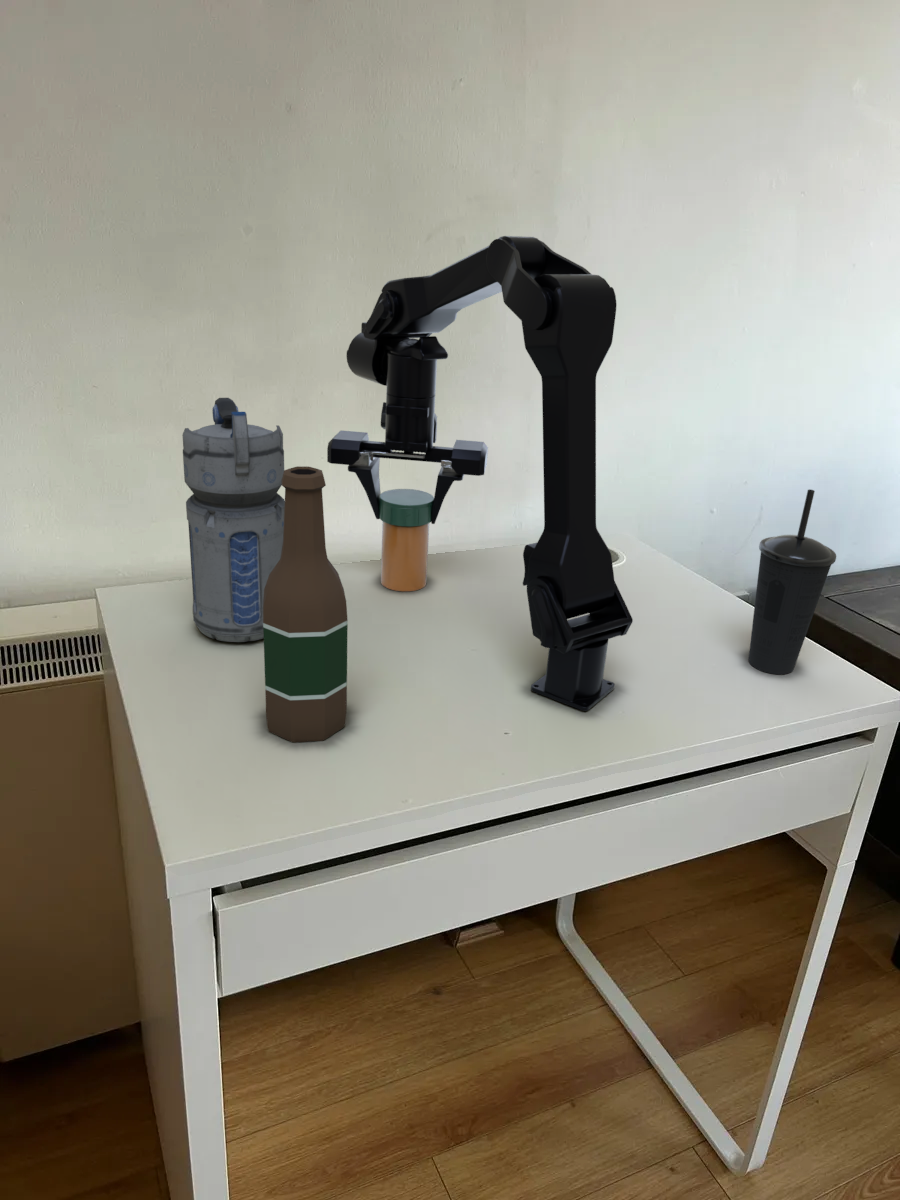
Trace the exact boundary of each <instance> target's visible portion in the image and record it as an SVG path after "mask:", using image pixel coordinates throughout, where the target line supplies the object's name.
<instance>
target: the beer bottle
mask: <svg viewBox="0 0 900 1200" xmlns="http://www.w3.org/2000/svg"><path fill="white" fill-rule="evenodd" d="M326 486H327V485H326V480H325V476H324V472H323V470H322V469H319V468H316V467H312V466H293V467H290V468H287V469H284V473H283V477H282V486H281V487H283V488H284V501H285V507H284V531H283V546H282V552H281V558H280V560H279V562H278V563H277V564H276V566H275V567H274V569H273V570H272V571H271V573H270V574H269V577H268V580H267V583H266V586H265V588H264V599H263V632H264V638H263V653H264V654H263V659H264V660H263V662H264V663H263V664H264V690H265V691H264V692H265V693H264V695H265V715H266V717H265V718H266V727H267V730H268V732H270V733H271V734H273V735H276V736H278V737H280V738H282V739H284V740H286V741H289V742H290V743H305V742H307V743H308V742H324V741H325V740H327V739H328V738H330V737H332V736H333V735H334V734H336V733H337V732H339V731H341V730H342V729H344V727H345V726H346V721H347V710H348V709H347V706H348V705H347V704H348V703H347V702H348V620H349V619H348V610H347V609H348V605H347V599H346V593H345V589H344V585H343V583H342V580H341V577H340V574H339V572H338V570H337V569H336V568H335V566H334V565H333V563H332V562H331V561H330V560H329V558H328V553H327V548H326V547H327V546H326V531H325V515H324V501H323V500H324V499H323V488H325V487H326Z"/></svg>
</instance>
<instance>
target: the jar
mask: <svg viewBox="0 0 900 1200" xmlns="http://www.w3.org/2000/svg"><path fill="white" fill-rule="evenodd" d="M381 522H382V523H381V525H382V526H381V561H380V584H381V586H383V587H384V588H386V589H389V590H392V591H396V592H415V591H418V590H421V589H423V588H425V587H426V585H427V581H428V580H427V578H428V577H427V576H428V560H429V559H428V558H429V539H430V538H429V537H430V536H429V535H430V523H428V524H426V525H422V526H414V527H404V526H396V525H391V524H388V523H385V522H383V521H382V520H381Z"/></svg>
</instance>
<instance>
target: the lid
mask: <svg viewBox="0 0 900 1200" xmlns="http://www.w3.org/2000/svg"><path fill="white" fill-rule="evenodd" d="M433 502H434V495H432V493H430V492H428V491H423V490H420V489H415V488H414V489H413V488H394V489H387V490H385V491H383V492H381V494H380V500H379V518H380V519H379V520H380V521H381V522H382V521H383V522H385V523H388V524H391V525H396V526H404V527H414V526H422V525H426V524H428V523H429V524H430V523H431V514H432V508H433Z"/></svg>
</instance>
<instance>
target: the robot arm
mask: <svg viewBox="0 0 900 1200" xmlns="http://www.w3.org/2000/svg"><path fill="white" fill-rule="evenodd" d="M500 293H502V300H503V304H504V305H505V306H506V307H507V308H508V309H509V310H510V311H511V312H513V314H514V315H515V316H516V317H517V318H518V319H519V320H520V322H521V327H522V334H523V336H522V337H523V342H524V348H525V350H526V352H527V353H528V356H529V358H530V359H531V361H532V363H533V364H534V367H535V368H536V370H537V371H538V373H539V375H540V377H541V395H542V396H541V399H542V404H541V405H542V407H541V409H542V457H543V459H542V460H543V463H542V464H543V468H542V469H543V519H544V521H543V525H544V526H543V531H542V532H541V534H540V537H539V539H538V540H537V542H533V543H529V544H526V545H524V549H523V553H522V558H523V564H524V575H523V580H522V586H525V587H526V595H527V602H528V603H527V604H528V611H529V617H530V618H529V619H530V624H531V633H532V635H533V637H534V638H536V639H538V640H539V642H540V646H541V647H543V648H545V649H548V652H547V653H548V654H547V663H546V672H545V674H544V675H543V676H542V677H540V678H539V679H537V680H536V681H534V682H533V683H532V684H531V685H530V691H532V692H533V693H536V694H539V695H541V696H544V697H546V698H548V699H551V700H554V701H556V702H559V703H561V704H564V705H567V706H570V707H572V708H574V709H577V710H580V711H583V712H587V711H590V709H592V708H593V707H594V706H595V705H596V704H598V703H599V702H600V701H601V700H602V699H603V698H605V697H606V696H607V695H608V694H609V693H611V692H612V691H613V690H614V689H615V687H616V686H615V685H616V684H615V683H614V682H613V681H610V680H607V679H605V678H604V674H605V666H606V659H607V653H608V645H609V639H610V640H611V639H613V638H616V637H621V636H625V635H627V633H628V632H629V630H630V628H631V626H632V624H633V622H634V621H633V620H634V619H633V617H632V615H631V613H630V611H629V609H628V606H627V604H626V602H625V600H624V598H623V596H622V594H621V592H620V589H619V587H618V584H617V583H616V580H615V573H614V566H613V559H612V558H613V557H612V552H611V550H610V549H609V547H608V545H607V543H606V542H605V540H604V538H603V537H602V535H601V533H600V532H599V530H598V527H597V374H598V372H599V370H600V369H601V366H602V364H603V362H604V360H605V359H606V356H607V354H608V353H609V350H610V348H611V347H612V343H613V339H614V330H615V324H616V317H617V316H616V314H617V295H616V293H615V290H614V288H613V287H612V286H610V284H609V282H608V281H607V280H606V278H604V277H603V276H601V275H599V274H592V273H591V272H590V271H589V270H588V269H586V268H585V267H583V266H582V265H580V264H578V263H576V262H574V261H572V260H570V259H569V258H567V257H564V256H563V255H561V254H559V253H558V252H556V251H554V250H553V249H552V248H550V247H549V246H548V245H547V244H546V243H545V242H544V241H542V240H540V239H539V238H537V237H534V236H522V235H521V236H520V235H519V236H518V235H503V236H499V237H498V238H495V239H494V240H493V241H491V242H490V243H489V245H487V246H485V247H483V248H481V249H479V250H478V251H476V252H473V253H472V254H469V255H467V256H465V257H464V258H461V259H460V260H458V261H456V262H453V263H452V264H450V265H448V266H446V267H444V268H442V269H440V270H438V271H436V272H434V273H432V274H430V275H423V276H414V277H413V276H412V277H403V278H398V279H391V280H387V282H386V283H385V284H384V285H383V287H382V288H381V292H380V294H379V296H378V298H377V300H376V302H375V304H374V307H373V310H372V312H371V315H370V316H369V318H368V320H367V321H366V322H365V321H364V322H361V329H360V331H361V332H359V333H358V334H357V335H355V336H354V337H353V339H352V340H351V341H350V343H349V345H348V349H347V350H346V363H347V365H348V368H349V369H350V370H351V372H352V373H353V374H354V375H355V376H357V377H358V378H362V379H364V380H367V381H369V382H373V383H375V384H378V385H381V386H385V387H386V394H385V395H386V396H385V397H386V398H385V401H384V402H382V407H381V413H380V427H381V428H382V429H383V430H385V433H384V436H385V437H384V441H377V440H375V441H374V440H370V438H369V434H368V432H367V431H365V432H364V431H352V430H339V431H338V432H337V433H336V434H335V435H334V436H333V437H332V438H331V439H330V440H329V441H328V442H327V443H328V444H327V448H326V449H327V453H326V457H327V459H326V460H327V463H329V464H333V465H343V466H344V465H345V466H347V471H348V472H351V473H355V476H356V477H357V478H358V480H359V482H360V484H361V486H362V487H363V490H364V491H365V494H366V496H367V499H368V502H369V504H370V507H371V509H372V511H373V514H374V517H375V519H376V520H381V519H380V518H379V500H380V494H381V493H382V492H381V483H380V479H381V478H380V462H381V461H380V460H381V459H391V460H400V461H401V460H402V461H403V460H404V461H415V462H426V463H427V462H428V463H440V469H439V471H438V474H437V479H436V484H435V490H434V495H433V497H434V502H433V508H432V514H431V522H430V523H431V525H435V524H436V521H437V519H438V516H439V513H440V511H441V508H442V505H443V502H444V500H445V498H446V496H447V494H448V492H449V490H450V489H451V487H452V485H453V483H454V482H461V481H463V479H464V477H465V476H476V477H477V476H478V477H480V476H485V473H486V468H487V466H488V465H487V464H488V454H489V447H488V445H487V444H486V443H485V442H484V441H478V440H477V441H476V440H464V439H456V440H455V442H454V443H453V447H449V446H436V445H434V444H435V443H436V442H437V432H438V416H437V414H436V413H435V410H436V409H435V407H436V391H437V390H436V389H437V372H438V371H437V370H438V369H437V368H438V360H446V359H448V358H449V353H448V352H447V350H446V348H445V347H444V346H443V345H442V344H441V343H440V342H439V339H438V337H437V336H435V335H432V334H439V333H440V332H442V331H444V330H445V329H446V328H447V327H448V326H450V325H451V324H452V323H454V322H455V321H456V319H457V316H458V313H459V312H460V311H461V310H463V309H465V308H467V307H469V306H472V305H474V304H476V303H479V302H482V301H484V300H486V299H489V298H490V297H493V296H496V295H497V294H500Z"/></svg>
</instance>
